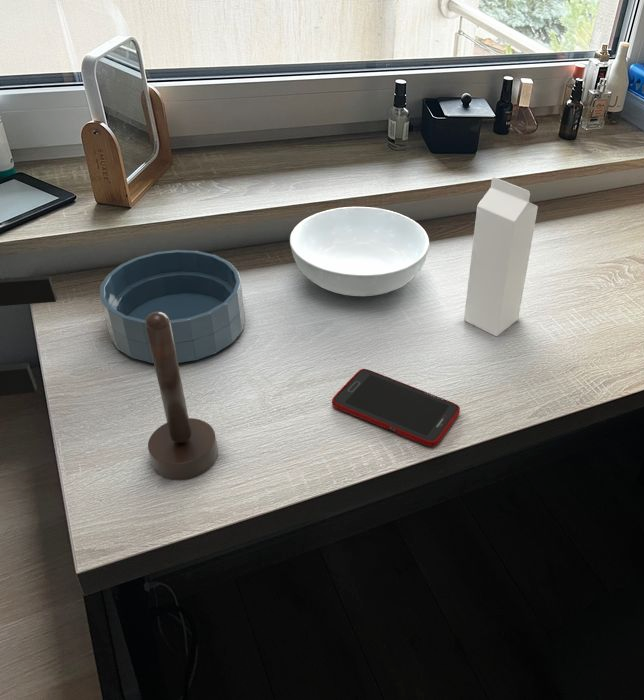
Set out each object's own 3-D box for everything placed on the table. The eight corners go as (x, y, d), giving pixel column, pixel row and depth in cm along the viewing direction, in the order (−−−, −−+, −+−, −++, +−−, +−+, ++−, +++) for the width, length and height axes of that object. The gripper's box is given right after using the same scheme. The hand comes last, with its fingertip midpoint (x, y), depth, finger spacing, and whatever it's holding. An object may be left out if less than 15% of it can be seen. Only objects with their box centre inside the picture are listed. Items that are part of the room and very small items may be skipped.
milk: (485, 304, 111) (504, 169, 97) (519, 319, 108) (542, 184, 95) (462, 321, 107) (478, 182, 93) (496, 338, 104) (518, 198, 91)
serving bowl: (401, 235, 124) (402, 199, 120) (446, 303, 110) (450, 264, 106) (279, 250, 117) (276, 212, 113) (310, 325, 102) (308, 284, 98)
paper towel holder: (167, 489, 77) (132, 345, 65) (142, 450, 81) (104, 306, 69) (228, 462, 81) (206, 320, 69) (202, 425, 85) (176, 285, 73)
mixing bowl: (140, 384, 90) (129, 339, 85) (92, 314, 99) (80, 271, 95) (267, 338, 99) (263, 296, 95) (212, 279, 109) (206, 238, 104)
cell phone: (361, 372, 95) (361, 366, 95) (462, 411, 91) (462, 405, 91) (328, 406, 90) (328, 400, 89) (434, 450, 85) (434, 444, 85)
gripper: (-167, 304, 72) (68, 287, 78) (-285, 497, 54) (34, 456, 60) (-203, 239, 67) (50, 226, 73) (-346, 426, 49) (7, 389, 55)
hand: (43, 329), depth 67 cm, fingers open, 13 cm apart
